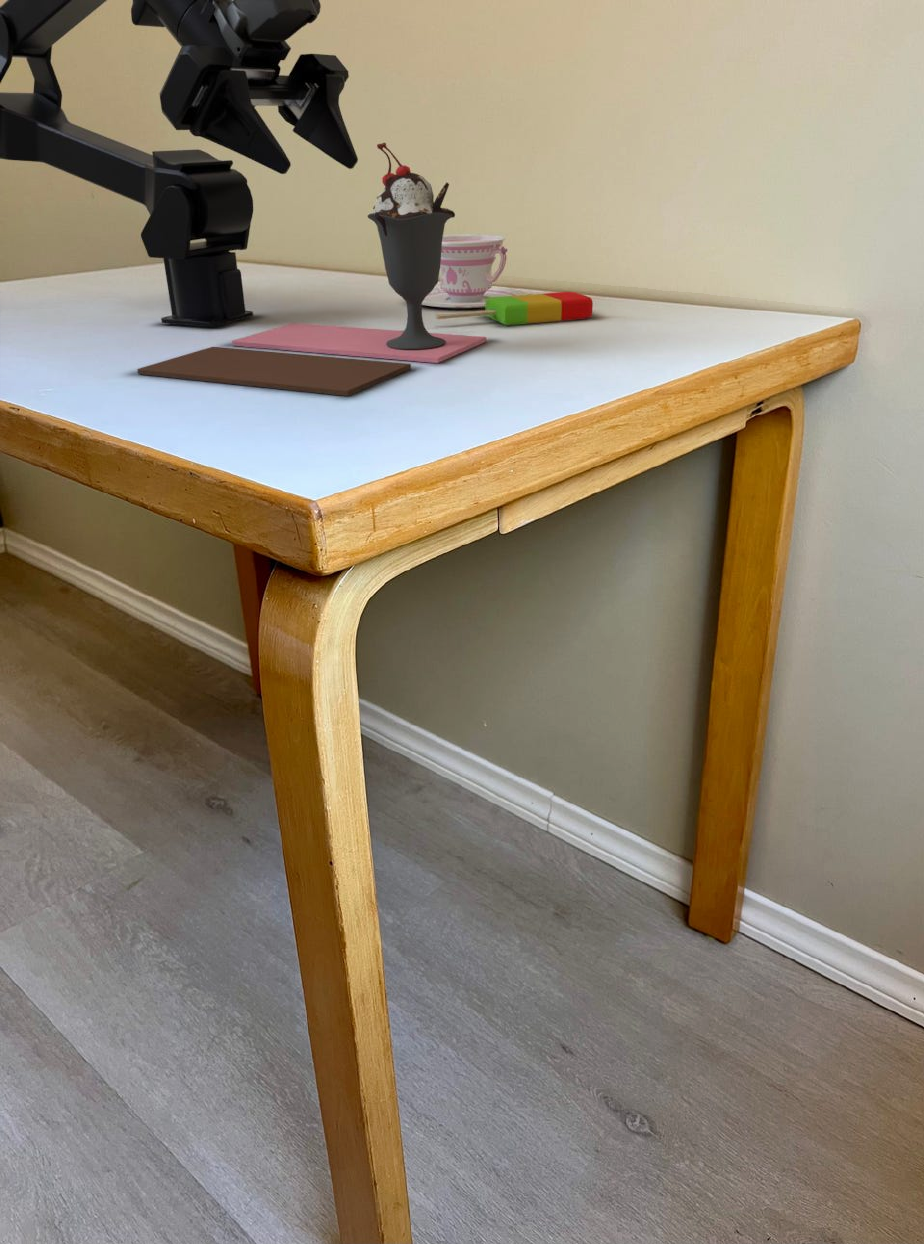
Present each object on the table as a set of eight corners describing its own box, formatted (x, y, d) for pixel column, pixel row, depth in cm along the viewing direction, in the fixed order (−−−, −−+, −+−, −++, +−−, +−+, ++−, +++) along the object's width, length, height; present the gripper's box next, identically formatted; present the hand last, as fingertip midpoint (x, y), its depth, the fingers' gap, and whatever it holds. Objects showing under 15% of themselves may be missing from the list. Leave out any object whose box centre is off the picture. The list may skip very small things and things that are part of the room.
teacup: (387, 304, 101) (384, 241, 98) (454, 289, 109) (453, 230, 107) (483, 314, 94) (483, 246, 92) (546, 296, 103) (547, 234, 100)
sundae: (359, 344, 81) (345, 143, 74) (425, 333, 84) (418, 140, 77) (404, 356, 76) (393, 142, 69) (471, 344, 79) (468, 140, 73)
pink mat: (232, 345, 83) (231, 340, 83) (292, 327, 90) (292, 322, 90) (438, 363, 75) (437, 357, 75) (486, 341, 82) (486, 336, 82)
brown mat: (137, 374, 74) (136, 368, 74) (213, 351, 81) (212, 346, 81) (348, 396, 67) (347, 390, 66) (411, 368, 74) (411, 363, 73)
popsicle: (597, 318, 91) (598, 297, 90) (445, 331, 87) (444, 310, 86) (572, 309, 96) (573, 290, 95) (427, 321, 91) (426, 301, 91)
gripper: (161, -87, 69) (298, 84, 69) (322, -53, 83) (435, 88, 83) (105, 48, 76) (230, 203, 76) (262, 58, 90) (366, 188, 90)
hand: (322, 167), depth 81 cm, fingers open, 9 cm apart
